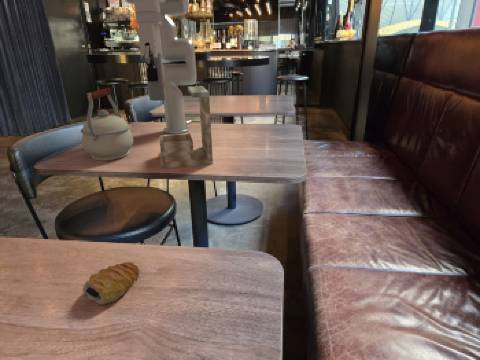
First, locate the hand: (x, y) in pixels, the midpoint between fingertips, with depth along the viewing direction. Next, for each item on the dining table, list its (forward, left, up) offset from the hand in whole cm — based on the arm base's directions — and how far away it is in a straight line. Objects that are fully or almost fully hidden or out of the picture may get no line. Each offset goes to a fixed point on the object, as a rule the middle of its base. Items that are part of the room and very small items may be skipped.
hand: (155, 79), depth 105 cm
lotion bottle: (0, 0, -7) cm, 7 cm away
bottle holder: (-6, +4, -29) cm, 30 cm away
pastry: (+52, +41, -29) cm, 73 cm away
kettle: (+5, -25, -29) cm, 39 cm away
